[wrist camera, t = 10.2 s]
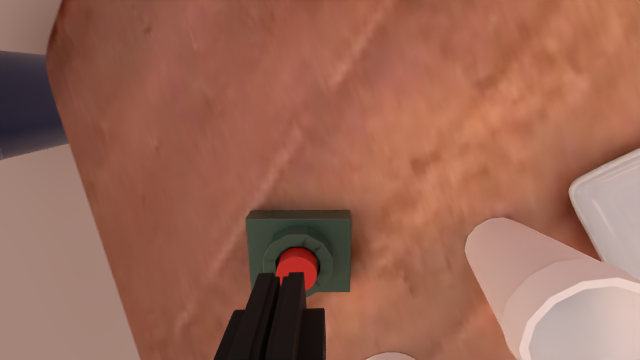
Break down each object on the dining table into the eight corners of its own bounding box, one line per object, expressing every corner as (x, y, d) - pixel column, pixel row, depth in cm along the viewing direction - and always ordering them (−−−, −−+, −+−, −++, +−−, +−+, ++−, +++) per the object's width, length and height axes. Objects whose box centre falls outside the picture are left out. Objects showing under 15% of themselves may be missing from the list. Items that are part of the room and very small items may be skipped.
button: (279, 281, 32) (277, 292, 30) (278, 247, 30) (275, 256, 29) (317, 281, 31) (317, 292, 30) (317, 247, 30) (316, 256, 29)
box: (255, 279, 36) (247, 303, 32) (250, 210, 33) (240, 227, 30) (348, 279, 35) (351, 303, 32) (349, 210, 33) (352, 226, 29)
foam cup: (435, 271, 35) (494, 376, 22) (472, 191, 32) (563, 260, 20) (517, 295, 36) (620, 410, 23) (560, 219, 33) (702, 302, 21)
